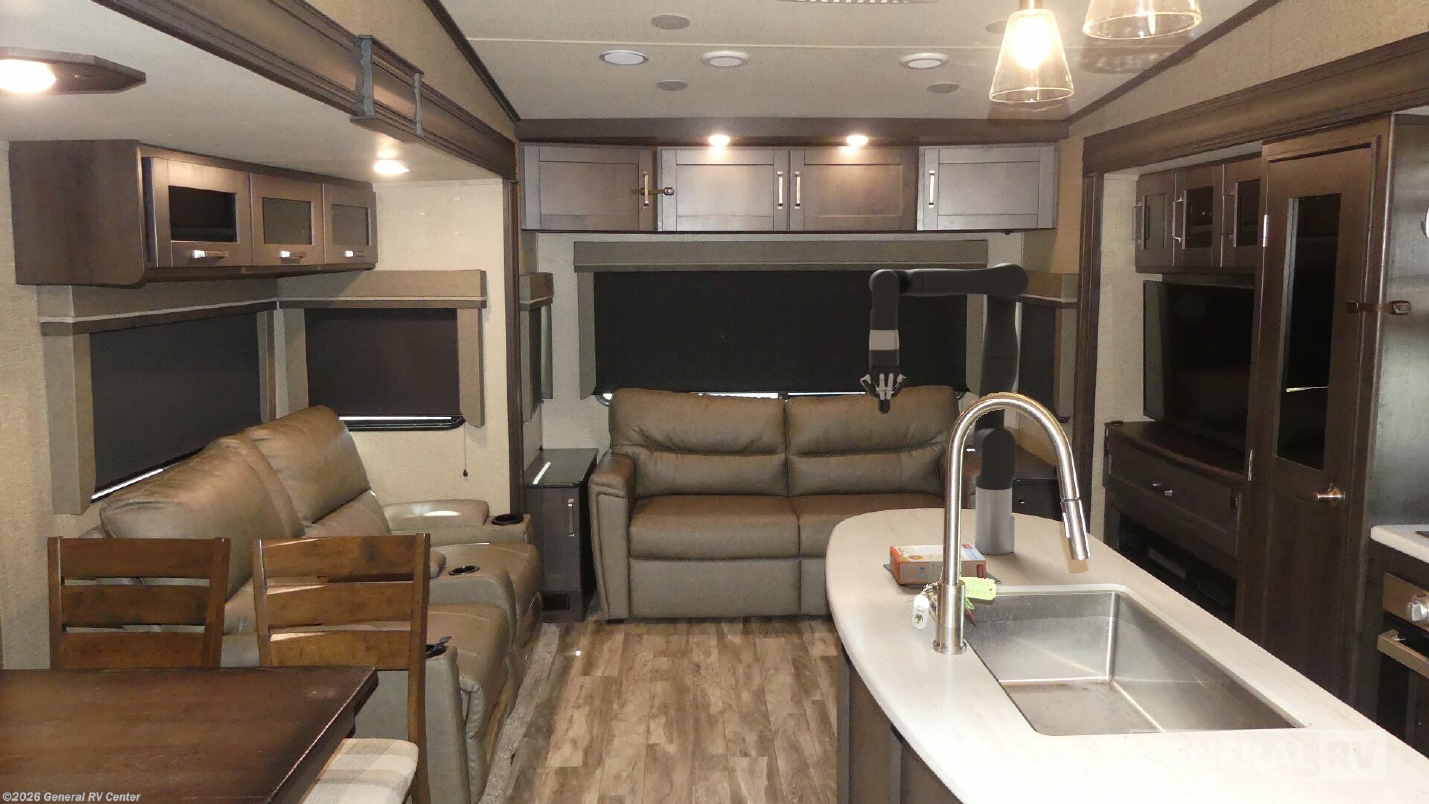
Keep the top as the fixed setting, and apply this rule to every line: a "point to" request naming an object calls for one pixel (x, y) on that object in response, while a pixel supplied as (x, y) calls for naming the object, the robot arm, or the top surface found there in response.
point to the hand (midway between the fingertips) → (883, 413)
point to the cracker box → (932, 563)
